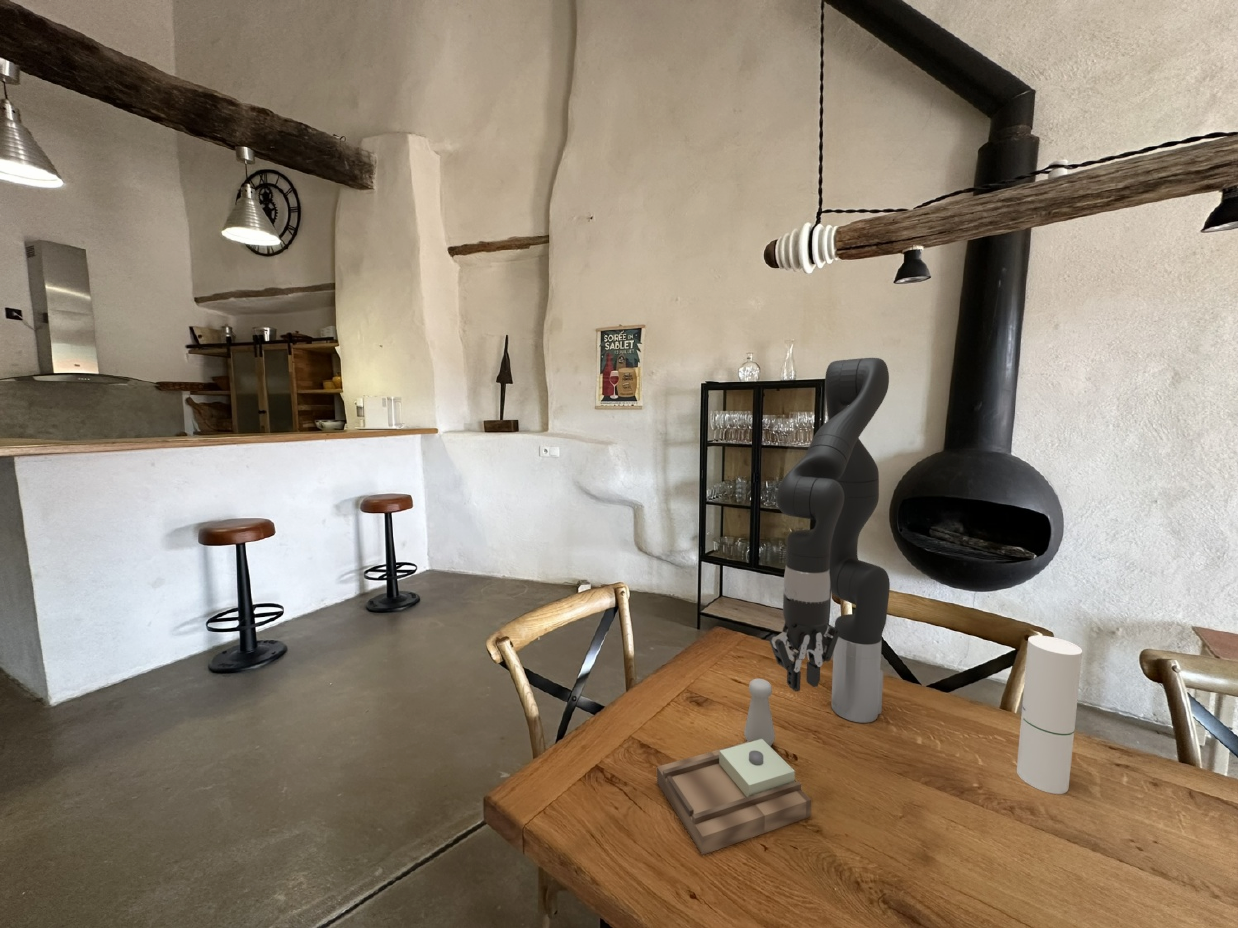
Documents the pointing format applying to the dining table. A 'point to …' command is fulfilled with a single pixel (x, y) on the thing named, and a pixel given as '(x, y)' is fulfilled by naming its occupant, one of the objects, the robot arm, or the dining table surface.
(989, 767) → the dining table surface
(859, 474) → the robot arm
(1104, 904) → the dining table surface
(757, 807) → the board
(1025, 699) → the cylindrical container
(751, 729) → the salt shaker
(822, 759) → the dining table surface
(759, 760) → the cover
